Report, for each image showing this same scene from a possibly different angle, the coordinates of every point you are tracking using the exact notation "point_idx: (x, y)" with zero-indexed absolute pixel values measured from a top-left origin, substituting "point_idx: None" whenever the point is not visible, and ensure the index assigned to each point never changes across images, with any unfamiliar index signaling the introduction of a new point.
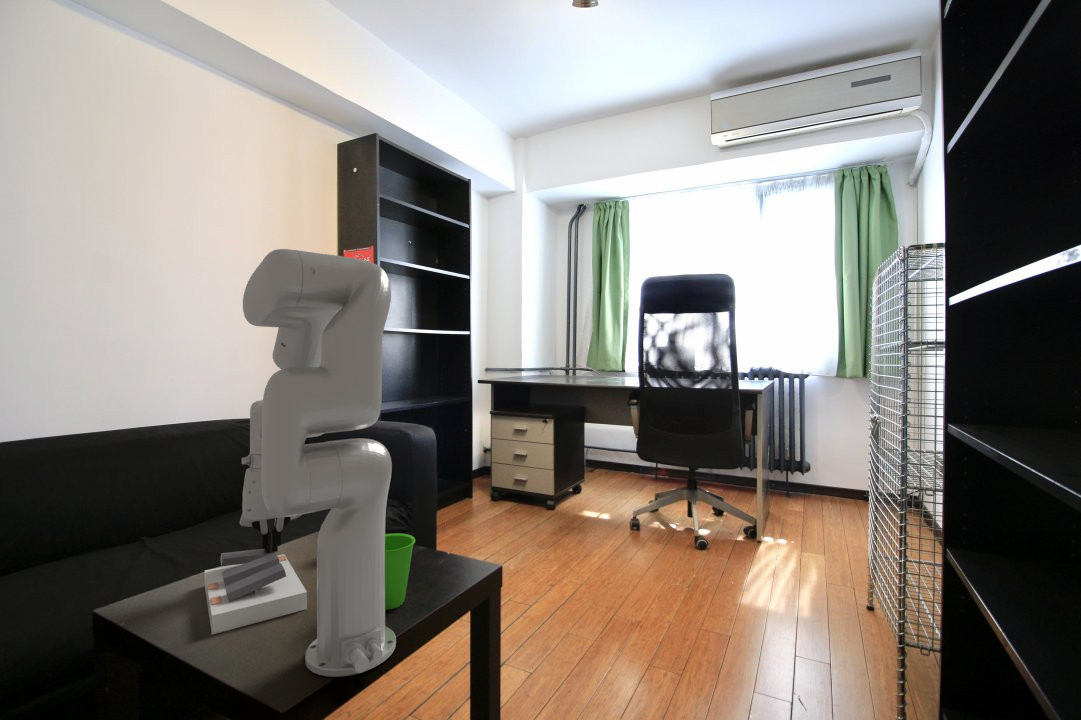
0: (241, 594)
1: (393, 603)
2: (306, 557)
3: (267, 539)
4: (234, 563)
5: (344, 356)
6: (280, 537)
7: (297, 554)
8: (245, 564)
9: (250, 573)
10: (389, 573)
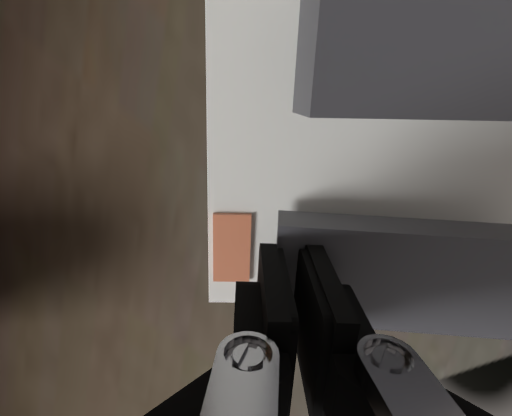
0: None
1: None
2: (117, 328)
3: (341, 294)
4: (488, 225)
5: None
6: (237, 309)
7: (145, 375)
8: (496, 97)
9: None
10: None
